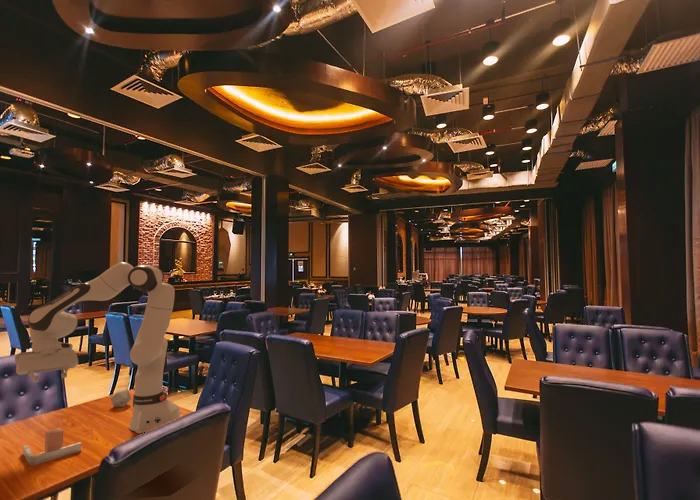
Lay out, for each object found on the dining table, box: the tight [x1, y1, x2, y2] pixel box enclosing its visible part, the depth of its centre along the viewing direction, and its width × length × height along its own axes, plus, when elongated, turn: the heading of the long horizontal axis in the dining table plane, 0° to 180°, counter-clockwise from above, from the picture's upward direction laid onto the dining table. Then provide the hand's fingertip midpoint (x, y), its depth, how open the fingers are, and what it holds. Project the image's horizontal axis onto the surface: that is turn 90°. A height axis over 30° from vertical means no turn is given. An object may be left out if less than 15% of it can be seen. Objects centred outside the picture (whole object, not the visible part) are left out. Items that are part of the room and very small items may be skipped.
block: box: [44, 426, 64, 452], centre depth 141 cm, size 4×4×8 cm
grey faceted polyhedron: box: [109, 389, 133, 408], centre depth 189 cm, size 8×9×10 cm
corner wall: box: [22, 441, 82, 467], centre depth 141 cm, size 14×15×3 cm
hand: (50, 379), depth 152 cm, fingers open, 8 cm apart
